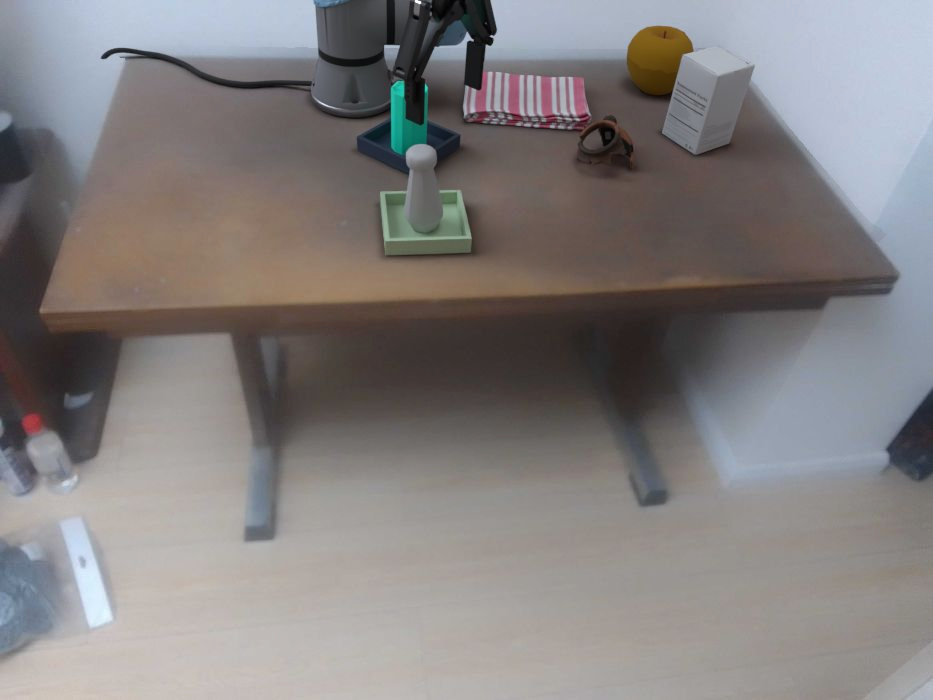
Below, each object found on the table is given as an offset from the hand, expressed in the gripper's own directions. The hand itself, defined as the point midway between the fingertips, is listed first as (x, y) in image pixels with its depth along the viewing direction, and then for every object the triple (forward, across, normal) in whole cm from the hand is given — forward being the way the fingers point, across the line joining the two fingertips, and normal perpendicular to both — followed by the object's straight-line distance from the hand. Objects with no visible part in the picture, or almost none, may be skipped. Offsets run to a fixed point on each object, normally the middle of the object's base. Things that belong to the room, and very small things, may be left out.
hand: (444, 103), depth 110 cm
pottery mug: (+16, +27, -15) cm, 35 cm away
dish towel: (+16, +34, +6) cm, 38 cm away
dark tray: (+16, +7, +12) cm, 21 cm away
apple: (+17, +58, -8) cm, 61 cm away
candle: (+16, +7, +12) cm, 21 cm away
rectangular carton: (+16, +45, -24) cm, 54 cm away
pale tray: (+15, -9, -4) cm, 18 cm away
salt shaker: (+15, -9, -4) cm, 18 cm away
